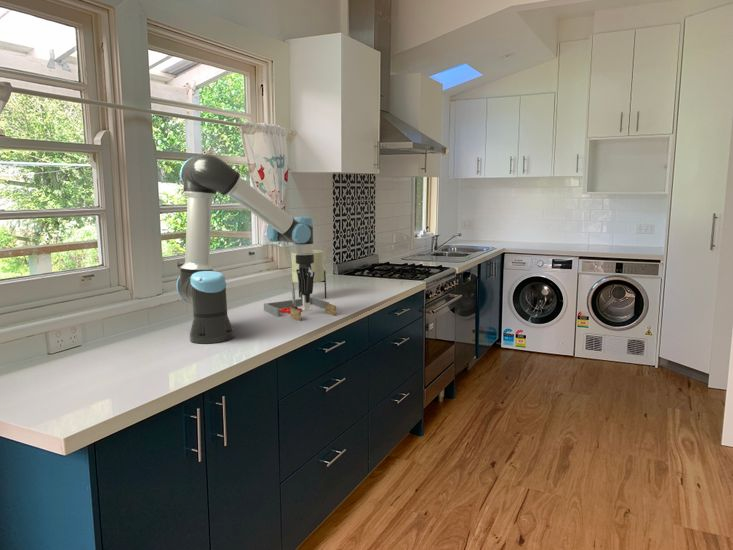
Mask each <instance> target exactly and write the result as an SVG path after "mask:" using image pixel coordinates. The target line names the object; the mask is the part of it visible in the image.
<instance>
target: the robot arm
mask: <svg viewBox="0 0 733 550" xmlns="http://www.w3.org/2000/svg"><path fill="white" fill-rule="evenodd" d="M179 173H180V180H181V182H182V183H183V188H182V189H183V194H184V195H185V196H186V198H187V199H186V200H187V202H186V205H187V206H186V229H185V230H186V232H185V234H186V235H185V252H184V253H185V256H184V257H185V258H184V263H183V264H182V265H181V266H180V275H179V276H178V278H177V280H176V284H175V285H176V287H175V288H176V292H177V294H178V296H180V298H181V299H182V300H183V301H185V302H186V303H189V304H192V313H193V314H192V315H193V316H192V317H193V319H192V323H191V327H190V331H189V341H190V342H191V343H195V344H214V343H222V342H226V341H229V340H231V339H232V338H234V337H235V334H234V328H233V326H232V323H231V321H230V319H229V318H230V317H229V315H228V303H227V282H226V277H225V274H223V273H222V272H219V271H214V268H213V267H212V265H211V264H210V252H211V226H212V223H211V222H212V205H213V202H212V201H213V198H215V197H216V196H217V192H218V193H220V194H221V195H222V196H224V197H226V196H228V197H230V198H231V199H232V200H234V201H235V202H236V203H238V204H240V205H241V206H242V207H244V208H245V209H246V210H248V211H249V212H250V213H252V214H253V215H255V216H256V217H258V218H259V219H260V220H262V221H263V222H264V223H266V224H268V225H267V226H266V231H265V232H266V238H267V240H268V241H269V242H272V243H273V242H274V243H278V242H285V243H294V251H295V253H296V254H297V255H296V263H297V264H299V269H297V270H296V272H297V275H298V283H299V285H298V291H299V290H300V292H301V293H302V294H303V295H302V297H303V306H302V311H310V310H311V305H310V298H311V294H313V291H314V289H313V288H314V283H313V280H314V274H315V272H312V271H311V264H312V263H314V255H313V254H312V253H313V250H314V247H315V246H314V224H313V223H314V222H313V218H312V217H311V216H294V218H293V217H292V216H291V215H289V214H288V213H286V212H285V211H284V210H283V209H281V208H280V207H279V206H277V205H276V204H275V203H274V202H272V201H271V200H270V199H268V197H266V196H265V195H263V194H262V193H261V192H259V191H258V190H256V189H255V188H254V187H253V186H251V184H249V183H247V182H246V181H245V180H244V179H243V178H241V177H242V176H241V174H240V172H238V171H236V170H235V169H234V168H232V166H231V165H229V164H228V163H226V162H225V161H224V160H222V159H221V158H219V157H217V156H215V155H212V154H203V155H199V156H197V155H196V156H192V157H191V158H188V159H187V160H186V161H185V162H183V163H182V166H181V168H180V171H179ZM298 283H297V284H298Z"/></svg>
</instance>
